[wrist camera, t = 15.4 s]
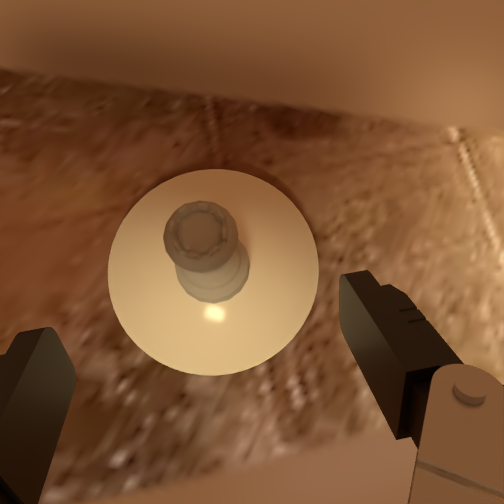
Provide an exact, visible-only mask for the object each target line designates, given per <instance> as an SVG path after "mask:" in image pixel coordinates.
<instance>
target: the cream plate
mask: <svg viewBox="0 0 504 504" xmlns="http://www.w3.org/2000/svg"><path fill="white" fill-rule="evenodd" d="M198 200H201V201H208V202H214V203H216V204H218V205H220V206H221V207H223V208H225V209H227V211H228V212H229V213H230V214H231V216H232V217H233V218H234V220H235V222H236V226H237V230H238V234H239V235H238V239H239V240H240V241H241V243H242V244H243V245H244V247H245V248H246V251H247V254H248V258H249V262H250V269H249V276H248V280H247V282H246V283H245V285H244V286H243V288H242V290H241V291H240V292H239V293H238V294H236V295H235V296H233V297H232V298H231V299H229V300H227V301H223V302H219V303H215V304H213V303H207V302H200V301H198V300H196V299H195V298H193V297H192V296H190V295H188V294H187V293H186V291H185V290H184V289H183V287H182V286H181V284H180V283H179V280H178V279H177V274H176V269H175V263H174V262H173V261H172V259H171V258H170V257H169V255H168V254H167V252H166V250H165V245H164V240H163V235H164V230H165V226H166V223H167V221H168V220H169V218H170V217H171V215H172V214H173V213H174V211H176V210H177V209H178V208H179V207H181V206H182V205H184V204H185V203H191V202H196V201H198ZM318 276H319V267H318V255H317V249H316V245H315V242H314V238H313V235H312V233H311V231H310V228H309V226H308V224H307V222H306V220H305V219H304V217H303V216H302V214H301V212H300V211H299V210H298V209H297V207H296V206H295V205H294V204H293V202H292V201H291V200H289V199H288V198H287V197H286V196H285V195H284V194H283V193H282V192H281V191H279V190H278V189H276V188H275V187H274V186H272V185H271V184H269V183H267V182H265V181H263V180H262V179H259V178H257V177H254V176H252V175H249V174H246V173H242V172H238V171H232V170H225V169H207V170H198V171H193V172H189V173H185V174H182V175H179V176H176V177H174V178H172V179H169V180H167V181H165V182H163V183H161V184H160V185H158V186H157V187H155V188H154V189H152V190H151V191H150V192H148V193H147V194H146V195H145V196H144V197H142V198H141V199H140V200H139V201H138V202H137V203H136V204H135V206H134V207H133V208H132V209H131V210H130V212H129V213H128V214H127V216H126V217H125V218H124V220H123V222H122V224H121V226H120V227H119V229H118V231H117V234H116V236H115V239H114V241H113V244H112V248H111V252H110V256H109V265H108V285H109V292H110V297H111V301H112V304H113V307H114V310H115V313H116V315H117V317H118V319H119V321H120V323H121V325H122V326H123V328H124V329H125V331H126V333H127V334H128V335H129V336H130V338H131V339H132V340H133V341H134V342H135V343H136V345H137V346H139V347H140V348H141V349H142V350H143V351H144V352H145V353H147V354H148V355H149V356H151V357H152V358H154V359H155V360H157V361H159V362H160V363H162V364H164V365H167V366H169V367H171V368H173V369H176V370H180V371H183V372H186V373H192V374H198V375H224V374H232V373H235V372H239V371H243V370H246V369H249V368H251V367H254V366H256V365H259V364H260V363H262V362H264V361H266V360H267V359H269V358H271V357H272V356H274V355H275V354H276V353H277V352H279V351H280V350H281V349H283V348H284V347H285V346H286V345H287V344H288V343H289V342H290V341H291V340H292V339H293V338H294V336H295V335H296V334H297V332H298V331H299V330H300V328H301V327H302V325H303V324H304V322H305V320H306V318H307V316H308V315H309V312H310V310H311V307H312V305H313V302H314V299H315V295H316V291H317V285H318Z"/></svg>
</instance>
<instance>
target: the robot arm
mask: <svg viewBox="0 0 504 504" xmlns="http://www.w3.org/2000/svg"><path fill="white" fill-rule="evenodd" d="M339 320H340V325H341V329H342V333H343V335H344V338H345V340H346V342H347V344H348V346H349V348H350V350H351V352H352V354H353V356H354V358H355V360H356V361H357V363H358V365H359V367H360V369H361V371H362V373H363V375H364V377H365V379H366V381H367V383H368V385H369V387H370V389H371V391H372V393H373V395H374V397H375V399H376V401H377V403H378V405H379V407H380V409H381V411H382V413H383V415H384V417H385V419H386V421H387V423H388V425H389V427H390V429H391V431H392V433H393V435H394V436H395V438H396V440H398V439H403V438H408V437H412V440H413V441H414V443H415V445H416V447H417V449H418V451H417V456H416V461H415V467H414V472H413V478H412V483H411V488H410V493H409V499H408V504H504V385H502V384H501V383H500V382H499V381H498V380H497V379H496V378H495V377H493V376H492V375H491V374H489V373H487V372H485V371H484V370H481V369H479V368H477V367H473V366H470V365H465V364H464V363H463V362H462V361H461V360H460V359H459V358H458V356H457V355H456V354H455V353H454V352H453V350H452V349H451V348H450V347H449V345H448V344H447V343H446V342H445V341H444V339H443V338H442V337H441V336H440V335H439V333H438V332H437V331H436V330H435V329H434V327H433V326H432V325H431V324H430V322H429V321H426V318H425V316H424V315H423V314H422V313H421V312H420V310H417V307H416V306H415V304H414V303H413V302H412V301H411V299H410V298H409V297H408V296H407V295H406V294H405V293H404V292H402V291H400V290H399V289H397V288H395V287H394V286H392V285H390V284H388V285H383V286H380V285H379V283H378V282H377V281H376V279H375V278H374V277H373V275H372V274H371V273H370V272H369V271H368V270H364V271H359V272H353V273H348V274H342V275H341V276H340V281H339ZM75 385H76V373H75V369H74V366H73V364H72V362H71V360H70V358H69V356H68V354H67V352H66V350H65V348H64V346H63V344H62V343H61V341H60V339H59V337H58V335H57V333H56V331H55V330H54V329H53V328H51V327H46V328H40V329H35V330H29V331H24V332H20V333H18V334H17V335H16V337H15V338H14V340H13V342H12V343H11V345H10V347H9V349H8V350H7V352H6V354H4V355H0V504H38V502H39V498H40V495H41V492H42V489H43V486H44V483H45V480H46V477H47V474H48V470H49V467H50V464H51V461H52V458H53V455H54V452H55V449H56V446H57V442H58V439H59V436H60V433H61V430H62V427H63V424H64V421H65V418H66V414H67V411H68V408H69V405H70V402H71V399H72V396H73V393H74V390H75Z"/></svg>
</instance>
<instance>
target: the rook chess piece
mask: <svg viewBox="0 0 504 504" xmlns="http://www.w3.org/2000/svg"><path fill="white" fill-rule="evenodd" d="M238 235H239V234H238V230H237V226H236V222H235V220H234V218H233V217H232V216H231V214H230V213H229V212H228V211H227V209H225V208H223V207H221V206H220V205H218V204H216V203H214V202H208V201H201V200H198V201H196V202H191V203H185V204H184V205H182V206H181V207H179V208H178V209H177V210H176V211H174V213H173V214H172V215H171V217H170V218H169V220H168V221H167V223H166V226H165V230H164V235H163V240H164V245H165V250H166V252H167V254H168V255H169V257H170V258H171V259H172V261H173V262H174V263H175V269H176V274H177V279H178V280H179V283H180V284H181V286H182V287H183V289H184V290H185V291H186V293H187V294H188V295H190V296H192V297H193V298H195V299H196V300H198V301H200V302H207V303H213V304H215V303H219V302H223V301H227V300H229V299H231V298H232V297H233V296H235V295H236V294H238V293H239V292H240V291H241V290H242V288H243V286H244V285H245V283H246V282H247V280H248V276H249V269H250V262H249V258H248V254H247V251H246V248H245V247H244V245H243V244H242V243H241V241H240V240H239V239H238Z"/></svg>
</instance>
